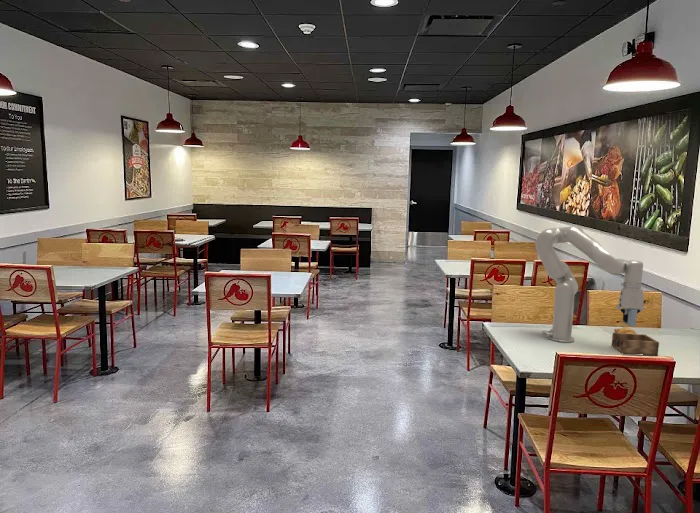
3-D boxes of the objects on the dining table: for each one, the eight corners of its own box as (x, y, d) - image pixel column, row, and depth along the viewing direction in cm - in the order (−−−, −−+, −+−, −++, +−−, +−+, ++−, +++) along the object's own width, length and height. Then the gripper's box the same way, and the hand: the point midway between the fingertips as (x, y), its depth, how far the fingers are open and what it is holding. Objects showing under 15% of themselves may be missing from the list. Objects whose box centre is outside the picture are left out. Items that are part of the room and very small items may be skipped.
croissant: (642, 351, 270) (651, 338, 270) (627, 343, 269) (636, 329, 268) (618, 339, 291) (626, 327, 290) (604, 331, 290) (612, 319, 289)
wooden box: (623, 354, 252) (624, 340, 252) (611, 345, 266) (612, 332, 265) (657, 356, 251) (659, 342, 250) (643, 347, 265) (645, 334, 264)
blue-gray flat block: (629, 326, 253) (631, 310, 252) (622, 321, 262) (623, 306, 261) (635, 326, 253) (637, 310, 252) (627, 322, 261) (629, 306, 261)
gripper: (618, 286, 252) (615, 323, 254) (653, 287, 250) (649, 324, 253) (612, 283, 259) (608, 319, 262) (645, 285, 258) (642, 321, 260)
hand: (628, 321), depth 257 cm, fingers closed on blue-gray flat block, 2 cm apart
